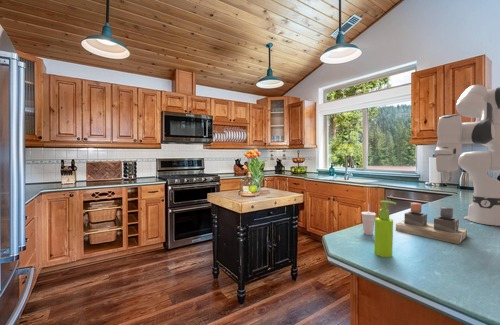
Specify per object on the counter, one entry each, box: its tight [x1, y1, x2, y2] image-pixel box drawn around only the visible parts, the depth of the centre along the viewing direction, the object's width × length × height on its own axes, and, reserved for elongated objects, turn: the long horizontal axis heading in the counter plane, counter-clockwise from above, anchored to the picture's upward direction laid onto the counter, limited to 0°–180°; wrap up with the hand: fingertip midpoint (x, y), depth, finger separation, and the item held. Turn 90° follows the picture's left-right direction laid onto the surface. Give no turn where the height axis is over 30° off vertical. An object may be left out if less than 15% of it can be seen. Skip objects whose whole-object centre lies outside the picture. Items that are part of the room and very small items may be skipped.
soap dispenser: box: [373, 200, 397, 258], centre depth 91 cm, size 6×7×20 cm
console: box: [395, 210, 468, 245], centre depth 117 cm, size 16×24×8 cm, turn 39°
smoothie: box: [360, 203, 377, 236], centre depth 115 cm, size 6×6×14 cm
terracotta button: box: [410, 202, 423, 213], centre depth 121 cm, size 4×4×4 cm
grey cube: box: [439, 206, 454, 218], centre depth 112 cm, size 4×4×4 cm
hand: (447, 181), depth 111 cm, fingers open, 4 cm apart
